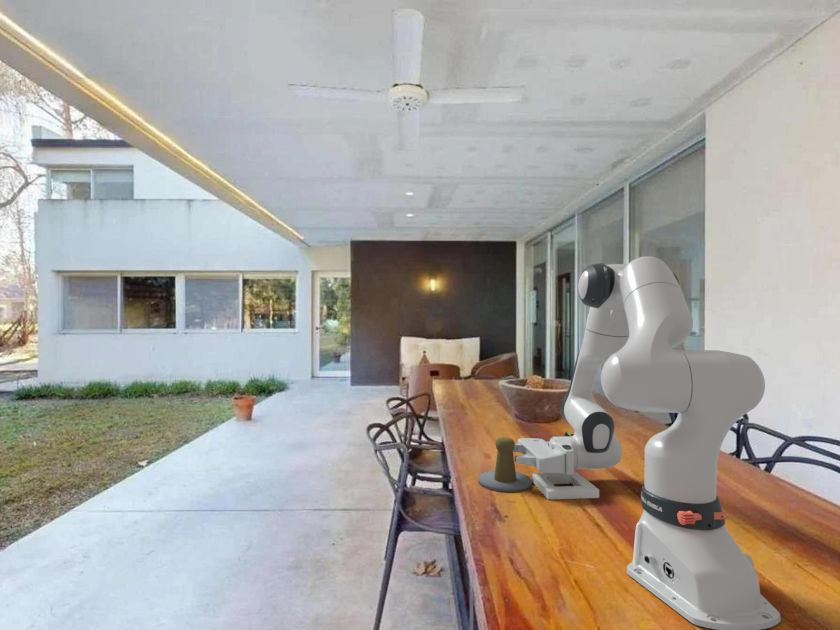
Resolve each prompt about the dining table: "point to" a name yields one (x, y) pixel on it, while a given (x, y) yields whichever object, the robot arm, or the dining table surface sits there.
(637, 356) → the robot arm
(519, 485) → the charcoal mat
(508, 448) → the olive pawn
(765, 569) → the dining table surface
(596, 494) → the white square frame
